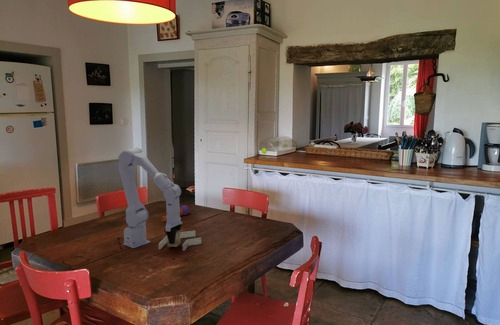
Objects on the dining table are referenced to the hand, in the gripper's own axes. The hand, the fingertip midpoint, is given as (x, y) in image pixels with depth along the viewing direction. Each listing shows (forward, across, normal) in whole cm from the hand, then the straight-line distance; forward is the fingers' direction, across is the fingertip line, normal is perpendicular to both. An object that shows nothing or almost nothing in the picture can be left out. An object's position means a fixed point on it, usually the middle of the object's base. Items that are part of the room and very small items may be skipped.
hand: (173, 241), depth 163 cm
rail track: (+3, +5, -2) cm, 6 cm away
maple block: (+1, 0, 0) cm, 1 cm away
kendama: (+3, +44, +14) cm, 47 cm away
